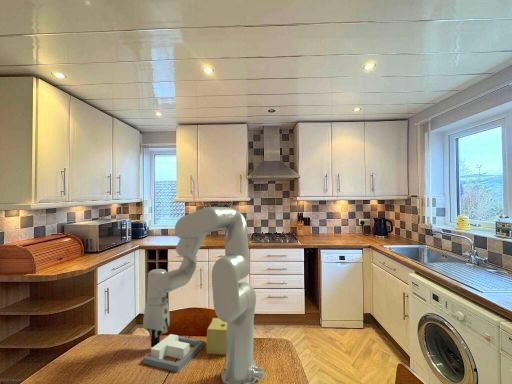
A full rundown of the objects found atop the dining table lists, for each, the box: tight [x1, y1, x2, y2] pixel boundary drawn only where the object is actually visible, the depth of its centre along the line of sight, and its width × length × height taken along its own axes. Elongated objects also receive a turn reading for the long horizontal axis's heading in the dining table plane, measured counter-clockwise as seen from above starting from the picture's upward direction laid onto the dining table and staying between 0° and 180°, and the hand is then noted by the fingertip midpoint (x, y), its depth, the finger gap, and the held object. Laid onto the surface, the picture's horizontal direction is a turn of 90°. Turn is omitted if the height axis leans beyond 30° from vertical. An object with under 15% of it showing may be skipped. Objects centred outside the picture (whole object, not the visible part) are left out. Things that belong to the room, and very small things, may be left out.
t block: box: [150, 333, 190, 360], centre depth 100 cm, size 12×12×4 cm
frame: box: [142, 335, 205, 373], centre depth 99 cm, size 16×18×2 cm
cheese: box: [206, 317, 227, 356], centre depth 104 cm, size 10×11×10 cm
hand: (155, 345), depth 102 cm, fingers closed
